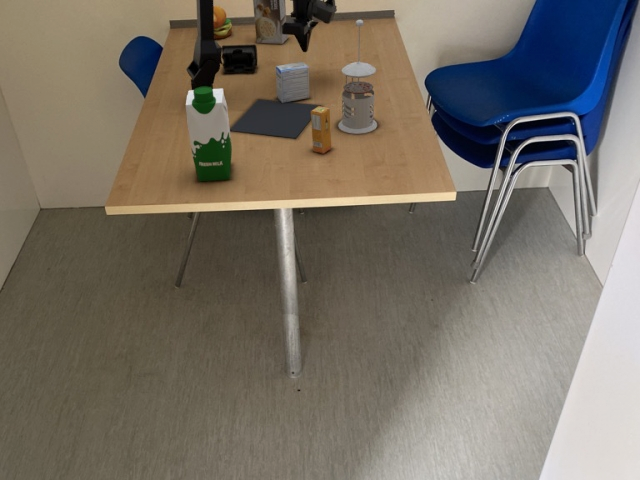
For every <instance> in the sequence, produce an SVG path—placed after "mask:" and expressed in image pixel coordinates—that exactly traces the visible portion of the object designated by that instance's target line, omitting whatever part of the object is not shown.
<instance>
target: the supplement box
mask: <svg viewBox="0 0 640 480" xmlns="http://www.w3.org/2000/svg"><path fill="white" fill-rule="evenodd" d="M330 110H331V109H330V108H328V107H324V106H321V107H320V106H318V107H317V108H315V109H314V110H312V111H311V120H310V124H311V136H312V137H311V139H312V151H313V152H315V153H319V154H322V155H324V154H325V153H326V152H328V151H330V150H331V149H332V136H331V135H332V134H331V131H332V130H331V111H330Z"/></svg>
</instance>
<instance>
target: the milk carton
mask: <svg viewBox="0 0 640 480" xmlns="http://www.w3.org/2000/svg"><path fill="white" fill-rule="evenodd" d="M185 99H186V100H185V112H186V122H187V129H188V136H189V144H190V148H191V155H192V159H193V164H194V168H195V171H196V175H197V179H198V182H211V181H230V180H231V179H230V178H231V168H232V167H231V166H232V155H233V154H232V152H233V147H232V137H231V131H230V129H231V127H230V119H229V113H228V104H227V103H228V102H227V100H226V97H225V91H224V88H223V87H222V88H221V87H220V88H213V89H212V88H211V87H199V88H196V89H194V90H192V89H191V90H188V92H187V94H186V98H185Z"/></svg>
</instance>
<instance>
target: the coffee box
mask: <svg viewBox="0 0 640 480" xmlns="http://www.w3.org/2000/svg"><path fill="white" fill-rule="evenodd" d="M252 5H253V16H254V26H255V27H254V29H255V39H256V43H257V44H277V45H284V43H285V42H286V41H287V40H288V38H289V37H288V35H286V34H282V25H283V24H284V23H285V22H286V21H287V9H286V0H252Z"/></svg>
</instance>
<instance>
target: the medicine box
mask: <svg viewBox="0 0 640 480" xmlns="http://www.w3.org/2000/svg"><path fill="white" fill-rule="evenodd" d="M275 79H276V81H275V82H276V98H277V99H278V101H281V102H282V103H285V102H296V101H299V100H305V99H310V67H309V66H308V64H306V63H305V62H303V61H297V62H292V63H285V64H281V65H276V66H275Z"/></svg>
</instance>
